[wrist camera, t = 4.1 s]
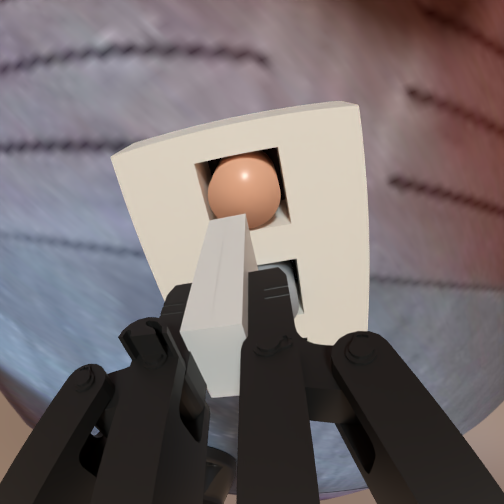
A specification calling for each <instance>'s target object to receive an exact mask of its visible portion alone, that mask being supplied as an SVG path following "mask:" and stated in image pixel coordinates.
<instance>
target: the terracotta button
mask: <svg viewBox="0 0 504 504" xmlns="http://www.w3.org/2000/svg"><path fill="white" fill-rule="evenodd" d="M280 197H281V193H280V187H279V182H278V178H277V174H276V170H275V166H274V164H273V162H272V160H271V159H270V157H269V156H268V155H267V154H266V153H264V152H263V151H261V150H258V151H253V152H247V153H242V154H237V155H232V156H227V157H223V158H221V159H220V161H219V163H218V165H217V167H216V170H215V172H214V174H213V177H212V179H211V181H210V184H209V188H208V201H209V205H210V207H211V209H212V211H213V213H214V214H215V215H216V217H217V218H218V219H220V218H225V217H230V216H235V215H240V214H245V213H246V218H247V222H248V227H249V228H254V227H257V226H260V225H262V224H264V223H265V222H267V221H268V220H269V219H270V218H271V217H272V216H273V215H274V214H275V212H276V211H277V209H278V206H279V203H280Z"/></svg>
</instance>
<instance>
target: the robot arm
mask: <svg viewBox="0 0 504 504" xmlns="http://www.w3.org/2000/svg"><path fill="white" fill-rule="evenodd" d="M118 338H119V339H120V341H121V343H122V345H123V346H124V348H125V350H126V351H127V353H128V354H129V356H130V358H131V359H132V362H131V365H130V367H127V368H125V369H122V370H119V371H115V372H112V373H109V374H107V373H106V372H105V371H104V369H103V368H102V367H101V366H99V365H97V364H88V365H84V366H82V367H80V368H78V369H77V370H75V371H74V372H73V373H72V374H71V375H70V376H69V378H68V379H67V381H66V382H65V383H64V385H63V386H62V388H61V389H60V391H59V392H58V393H57V395H56V396H55V398H54V399H53V401H52V402H51V404H50V405H49V407H48V408H47V410H46V411H45V413H44V414H43V416H42V417H41V419H40V420H39V422H38V423H37V425H36V426H35V428H34V429H33V431H32V432H31V434H30V435H29V437H28V439H27V440H26V442H25V443H24V445H23V447H22V448H21V450H20V451H19V453H18V455H17V456H16V458H15V459H14V461H13V463H12V464H11V466H10V468H9V469H8V471H7V473H6V475H5V476H4V478H3V480H2V481H1V483H0V504H224V501H225V499H226V497H227V495H228V492H229V490H230V488H231V485H232V483H233V481H234V478H235V476H236V461H235V459H234V458H233V457H231V456H230V455H228V454H226V453H224V452H222V451H220V450H217V449H214V448H211V447H207V443H208V431H209V420H210V410H209V406H208V405H207V403H206V401H205V397H206V388H207V389H208V391H209V393H210V395H211V397H212V398H217V397H228V396H239V426H238V463H237V504H320V500H319V492H318V483H317V475H316V467H315V459H314V451H313V443H312V436H311V428H310V421H309V420H311V421H320V422H330V423H335V425H336V427H337V429H338V431H339V432H340V434H341V436H342V438H343V440H344V442H345V444H346V446H347V448H348V450H349V451H350V453H351V455H352V457H353V459H354V461H355V463H356V465H357V467H358V469H359V470H360V472H361V474H362V476H363V478H364V480H365V482H366V484H367V486H368V487H369V489H370V491H371V493H372V495H373V497H374V499H375V501H376V502H377V504H504V493H503V491H502V490H501V488H500V487H499V485H498V484H497V482H496V481H495V480H494V478H493V477H492V475H491V474H490V473H489V471H488V470H487V468H486V467H485V466H484V464H483V463H482V461H481V460H480V459H479V457H478V456H477V455H476V453H475V452H474V450H473V449H472V448H471V446H470V445H469V444H468V443H467V441H466V440H465V438H464V437H463V436H462V434H461V433H460V432H459V430H458V429H457V428H456V426H455V425H454V424H453V423H452V421H451V420H450V419H449V417H448V416H447V415H446V413H445V412H444V411H443V410H442V408H441V407H440V406H439V404H438V403H437V402H436V401H435V399H434V398H433V397H432V396H431V394H430V393H429V392H428V390H427V389H426V388H425V387H424V385H423V384H422V383H421V382H420V380H419V379H418V378H417V377H416V375H415V374H414V373H413V372H412V371H411V369H410V368H409V367H408V366H407V364H406V363H405V362H404V361H403V360H402V358H401V357H400V356H399V355H398V353H397V352H396V351H395V350H394V349H393V347H392V346H391V345H390V344H389V343H388V341H387V340H385V339H384V338H383V337H382V336H380V335H379V334H376V333H373V332H370V331H356V332H352V333H348V334H346V335H344V336H343V337H341V338H339V339H338V340H337V342H336V343H335V344H334V345H321V344H314V343H311V342H309V341H306V340H305V339H304V338H302V337H301V336H300V335H299V334H298V332H297V330H296V327H295V322H294V316H293V310H292V305H291V299H290V293H289V287H288V281H287V276H286V274H285V273H284V272H283V271H282V270H281V269H280V268H279V267H275V268H270V269H264V270H258V267H257V262H256V258H255V253H254V249H253V245H252V240H251V236H250V231H249V227H248V222H247V218H246V213H245V214H240V215H235V216H230V217H225V218H220V219H214V220H210V221H209V224H208V228H207V231H206V235H205V238H204V242H203V245H202V249H201V252H200V256H199V260H198V263H197V267H196V271H195V274H194V278H193V282H192V283H187V284H181V285H176V286H175V287H174V288H173V289H172V290H171V291H170V292H169V294H168V295H167V297H166V300H165V303H164V307H163V308H162V311H161V316H160V317H159V318H156V317H148V318H144V319H140V320H137V321H135V322H133V323H131V324H130V325H129V326H127V327H126V328H125V329H124V330H123V331H122V332H121V334H120V335H119V337H118ZM94 426H95V427H96V428H97V429H98V430H99V431H100V432H99V433H98V434H97V435H94V436H93V435H92V434H91V431H92V429H93V428H94Z"/></svg>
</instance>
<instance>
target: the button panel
mask: <svg viewBox="0 0 504 504" xmlns="http://www.w3.org/2000/svg"><path fill="white" fill-rule="evenodd" d="M275 147H276V151H277V156H278V162H279V167H280V173H281V178H282V184H283V190H284V195H285V200H280V203H279V206H278V209H277V211H276V212H275V214H274V215H273V216H272V217H271V218H270V219H269V220H268V221H267V222H265V223H264V224H262V225H260V226H257V227H254V228H249V231H250V236H251V240H252V245H253V249H254V253H255V258H256V262H257V265H262V264H268V263H274V262H280V261H286V260H291V259H295V264H296V270H297V277H298V281H296V282H295V284H296V290H297V295H298V301H299V310H298V313H297V316H296V317H295V319H294V322H295V327H296V330H297V332H298V334H299V335H300V336H301V337H302V338H306V341H309V342H311V343H314V344H321V345H334V344H335V343H336V342H337V340H338V339H339V338H341V337H343V336H344V335H346V334H348V333H352V332H356V331H367V329H368V307H369V221H368V199H367V182H366V169H365V157H364V147H363V137H362V128H361V120H360V112H359V105H356V104H352V103H348V102H343V101H332V102H323V103H315V104H307V105H300V106H293V107H286V108H280V109H274V110H268V111H262V112H257V113H252V114H246V115H241V116H236V117H232V118H227V119H222V120H218V121H213V122H209V123H205V124H201V125H197V126H193V127H189V128H185V129H181V130H177V131H173V132H170V133H166V134H163V135H159V136H156V137H152V138H149V139H145V140H142V141H139V142H136V143H133V144H131V145H130V146H128V147H126V148H124V149H123V150H121V151H119V152H118V153H116V154H114V155H113V156H111V160H112V163H113V166H114V169H115V173H116V176H117V179H118V182H119V185H120V188H121V191H122V193H123V196H124V199H125V202H126V205H127V208H128V211H129V213H130V216H131V219H132V222H133V224H134V227H135V230H136V232H137V235H138V237H139V240H140V243H141V245H142V248H143V250H144V253H145V255H146V258H147V260H148V263H149V265H150V268H151V270H152V273H153V275H154V277H155V280H156V282H157V285H158V287H159V289H160V292H161V294H162V296H163V298H164V301H165V300H166V297H167V295H168V294H169V292H170V291H171V290H172V289H173V288H174V287H175V286H176V285H181V284H187V283H192V282H193V278H194V274H195V271H196V267H197V263H198V260H199V256H200V252H201V249H202V245H203V242H204V238H205V235H206V231H207V228H208V224H209V221H210V220H214V219H218V218H217V217H216V215H215V214H214V213H213V211H212V209H211V207H210V205H209V201H208V188H209V184H210V181H211V179H212V176H211V172H210V168H209V164H208V161H209V160H213V159H218V158H223V157H227V156H232V155H237V154H242V153H247V152H253V151H258V150H263V149H269V148H275ZM207 390H208V389H207ZM208 392H209V391H208Z"/></svg>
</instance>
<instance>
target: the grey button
mask: <svg viewBox="0 0 504 504" xmlns="http://www.w3.org/2000/svg"><path fill="white" fill-rule="evenodd" d="M257 267H258V270H264V269H270V268H275V267H279V268H280V269H281V270H282V271H283V272H284V273H285V274H286V276H287V281H288V287H289V293H290V299H291V305H292V310H293V316H294V319H295V317H296V316H297V313H298V310H299V301H298V295H297V290H296V284H295V279H294V273H293V268H292V264H291V262H290V260H286V261H280V262H274V263H268V264H262V265H257Z"/></svg>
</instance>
